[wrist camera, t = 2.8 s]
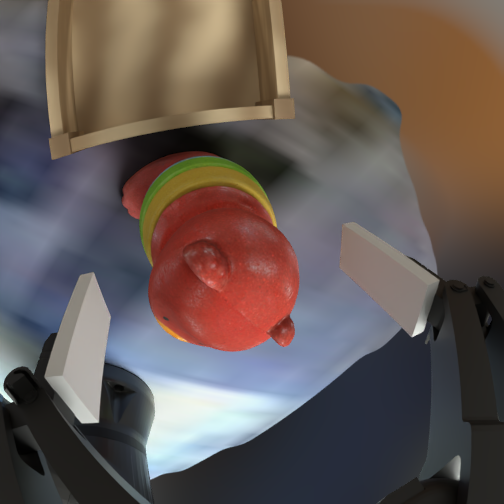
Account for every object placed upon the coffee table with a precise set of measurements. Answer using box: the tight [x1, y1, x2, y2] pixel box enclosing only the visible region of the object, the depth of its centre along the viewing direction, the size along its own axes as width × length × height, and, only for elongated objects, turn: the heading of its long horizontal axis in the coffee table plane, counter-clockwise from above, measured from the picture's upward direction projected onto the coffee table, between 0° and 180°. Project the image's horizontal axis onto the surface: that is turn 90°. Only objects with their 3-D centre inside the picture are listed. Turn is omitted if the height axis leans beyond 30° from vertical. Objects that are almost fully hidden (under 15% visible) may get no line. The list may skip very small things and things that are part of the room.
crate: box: [45, 0, 295, 160], centre depth 17 cm, size 18×18×5 cm
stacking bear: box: [122, 151, 299, 351], centre depth 19 cm, size 11×10×18 cm
